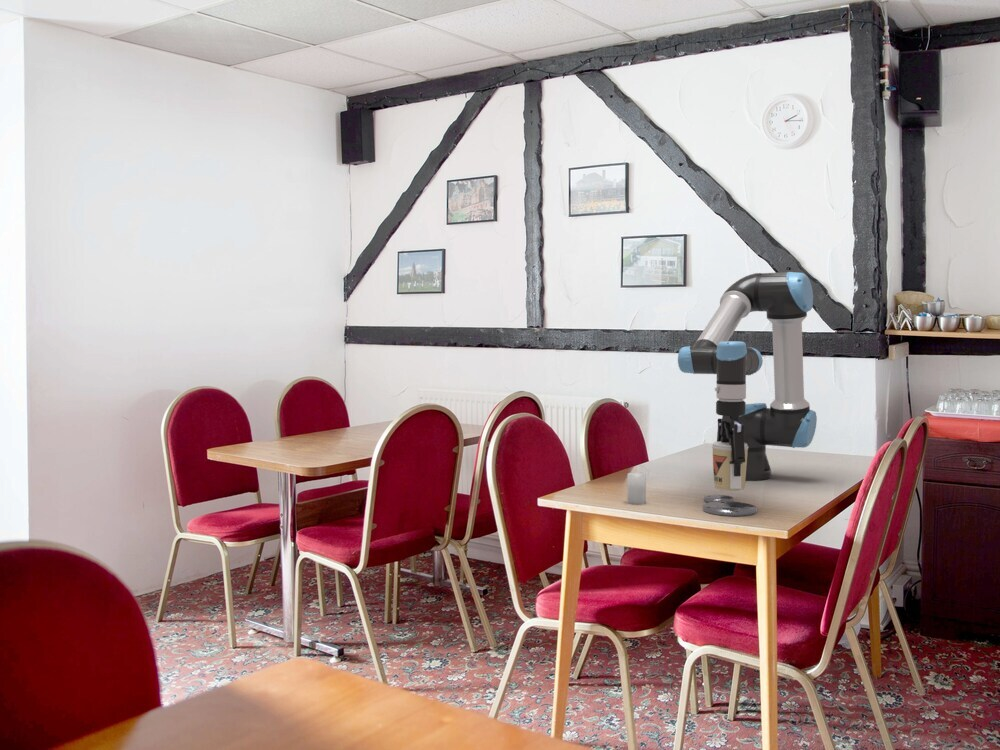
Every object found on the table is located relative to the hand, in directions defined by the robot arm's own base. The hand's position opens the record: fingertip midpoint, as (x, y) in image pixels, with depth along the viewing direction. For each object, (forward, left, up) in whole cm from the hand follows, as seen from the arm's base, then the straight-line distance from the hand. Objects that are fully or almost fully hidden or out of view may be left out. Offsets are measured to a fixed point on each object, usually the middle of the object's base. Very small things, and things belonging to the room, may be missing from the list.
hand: (729, 484), depth 244 cm
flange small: (-1, -12, -7) cm, 14 cm away
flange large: (0, 0, -7) cm, 7 cm away
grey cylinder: (+22, -13, -7) cm, 26 cm away
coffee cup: (0, 0, -1) cm, 1 cm away
